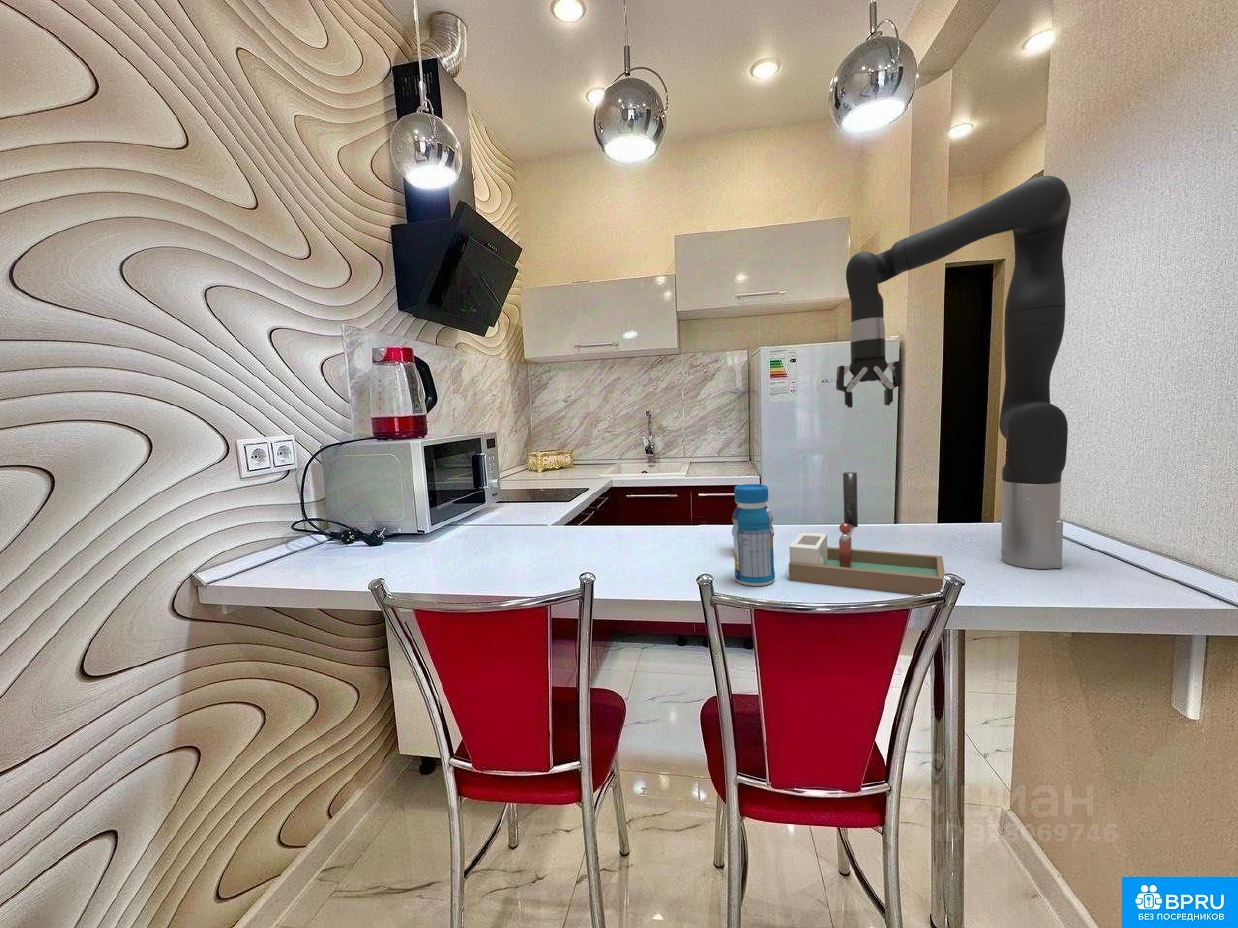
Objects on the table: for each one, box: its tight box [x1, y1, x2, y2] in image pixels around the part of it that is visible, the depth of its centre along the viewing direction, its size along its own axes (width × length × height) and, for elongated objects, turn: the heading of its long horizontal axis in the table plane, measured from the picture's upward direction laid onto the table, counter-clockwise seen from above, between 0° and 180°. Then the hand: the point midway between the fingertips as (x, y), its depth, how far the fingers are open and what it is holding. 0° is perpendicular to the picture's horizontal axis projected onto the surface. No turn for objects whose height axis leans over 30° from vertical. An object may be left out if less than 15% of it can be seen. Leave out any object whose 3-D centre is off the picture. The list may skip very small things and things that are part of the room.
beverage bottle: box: [731, 483, 776, 587], centre depth 102 cm, size 8×8×20 cm
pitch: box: [788, 532, 946, 596], centre depth 100 cm, size 27×14×7 cm, turn 59°
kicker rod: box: [838, 471, 859, 568], centre depth 105 cm, size 3×13×19 cm, turn 149°
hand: (868, 406), depth 121 cm, fingers open, 8 cm apart
